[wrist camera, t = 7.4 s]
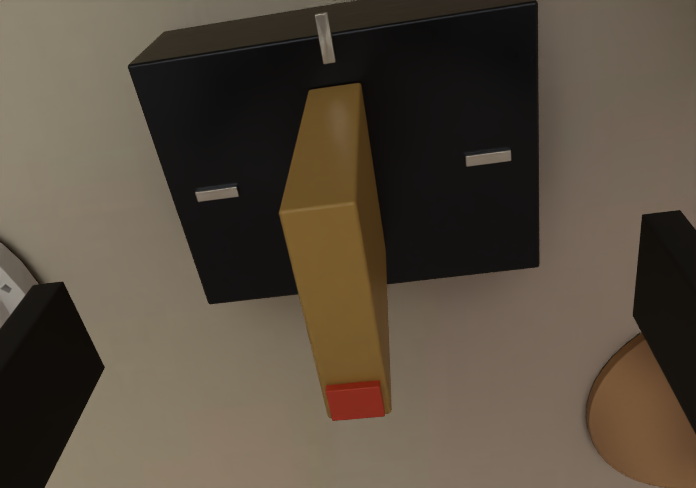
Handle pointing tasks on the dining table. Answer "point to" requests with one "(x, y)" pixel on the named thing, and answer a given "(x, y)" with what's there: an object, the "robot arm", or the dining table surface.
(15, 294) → the mechanical component
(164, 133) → the socket block
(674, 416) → the coaster
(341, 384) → the yellow rectangular block
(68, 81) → the dining table surface
